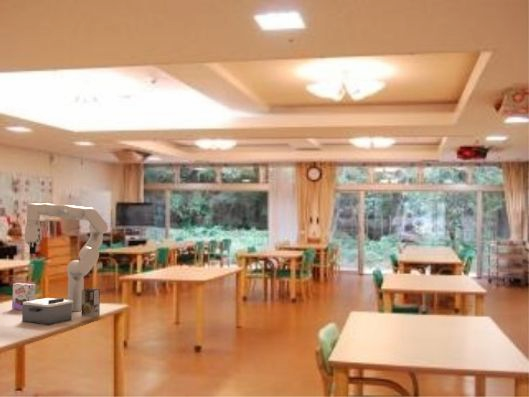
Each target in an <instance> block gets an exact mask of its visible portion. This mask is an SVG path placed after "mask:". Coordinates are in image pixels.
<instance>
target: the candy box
mask: <svg viewBox="0 0 529 397" xmlns="http://www.w3.org/2000/svg"><path fill="white" fill-rule="evenodd" d="M32 300H36V283H35V284H34V283H24V282H15V283H12V304H11V306H12V307H11V309H12V310H17V311H18V310H19V311H22V305H23V302H26V301H32Z"/></svg>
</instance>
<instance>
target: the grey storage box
mask: <svg viewBox="0 0 529 397" xmlns="http://www.w3.org/2000/svg"><path fill="white" fill-rule="evenodd" d="M21 312H22V313H21V314H22V316H21V318H22V319H21V322H22V323H24V324H25V323H26V324H35V325H42V326H52V325H57V324H62V323H66V322H70V321H73V320H72V319H73V318H72V317H73V311H72V303H68V304H63V305H58V306H53V307H43V306H34V305H26V304H23V305H22V310H21Z"/></svg>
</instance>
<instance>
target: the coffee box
mask: <svg viewBox="0 0 529 397" xmlns="http://www.w3.org/2000/svg"><path fill="white" fill-rule="evenodd" d="M100 295H101V289H100V288H99V289H98V288H84V290H82V311H81V317H88V318H89V317H90V318H96V317H100V314H101V313H100V309H101V308H100V302H101V296H100Z"/></svg>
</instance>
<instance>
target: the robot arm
mask: <svg viewBox="0 0 529 397" xmlns="http://www.w3.org/2000/svg"><path fill="white" fill-rule="evenodd" d="M40 216H47V217H55V218H56V217H57V218H62V219H68V220H69V219H70V220H77V221H78V220H79V221H88V223H89V225H88V230H89V238H88V239H87V241H86V243H85V244H84V245H83V247H82V248H81V249H80V250H79V251H78V252H79V253H78V258H79V260H78V259H74V260H71V261H70V262H69V263H68V265H67V268H66V270H67V272H66V273H67V278H68V279H67V282H68V283H67V300H73V303H72V312H82V290H84V289H85V287H84V286H85V284H84V283H85V281H84V280H85V278H84V277H85V276H87V274H89V273H90V271H91V270H92V268H93V267H95V264H96V263H97V261H98V260H99V257H100V251H99V250H98V249H99V248H100V247H101V245H102V243H103V239H104V236H103V234H106V233H107V232H108V228H109V227H108V226H109V225H108V223H107V222H106V221H105V220H104V218H103V217H102V216H101V214H100V213H99V212H98V211H97V209H95V208H93V207H86V206H85V207H84V206H76V205H71V204H70V205H69V204H53V203H49V202H47V203H45V202H42V203H34V202H33V203H30V202H29V203H27V205H26V226H25V229H24V241H25V244H27V245H28V247H29V254H36V248H37V247H38V246H37V245H40V243H41V242H42V240H43V239H42V238H43V234H42V226H41V222H40V221H41V220H40V219H41V217H40Z"/></svg>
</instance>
